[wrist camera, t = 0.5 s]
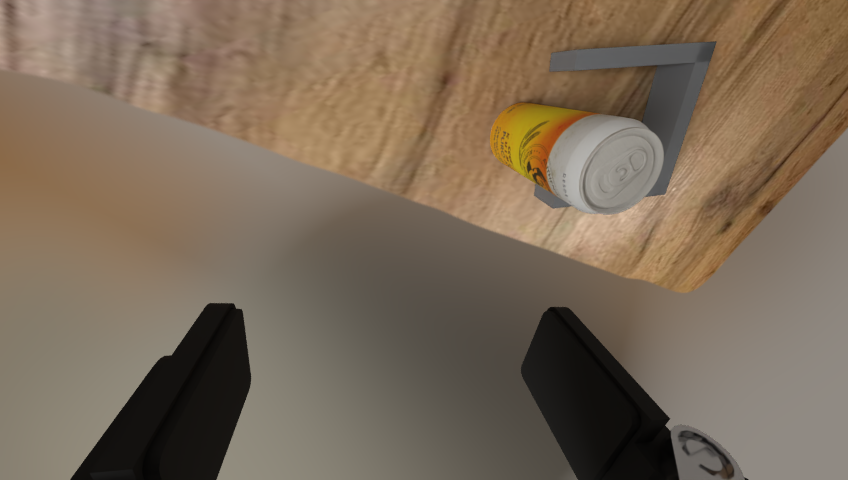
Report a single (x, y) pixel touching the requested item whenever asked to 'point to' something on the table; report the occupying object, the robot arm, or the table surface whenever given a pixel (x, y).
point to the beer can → (580, 155)
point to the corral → (667, 99)
